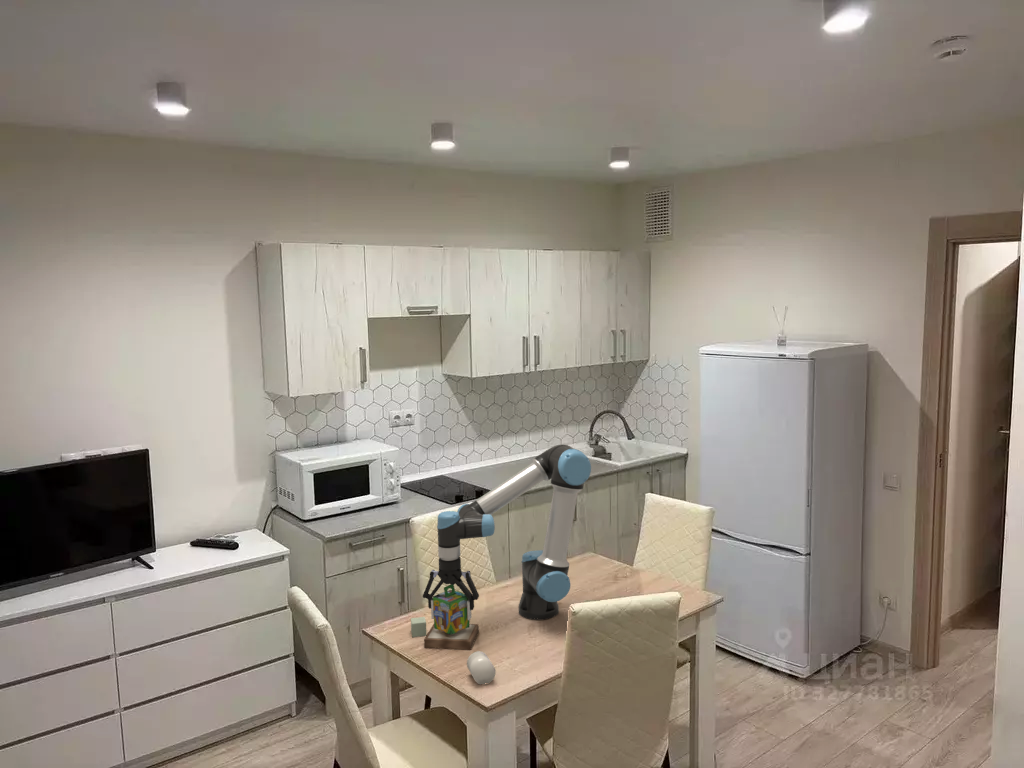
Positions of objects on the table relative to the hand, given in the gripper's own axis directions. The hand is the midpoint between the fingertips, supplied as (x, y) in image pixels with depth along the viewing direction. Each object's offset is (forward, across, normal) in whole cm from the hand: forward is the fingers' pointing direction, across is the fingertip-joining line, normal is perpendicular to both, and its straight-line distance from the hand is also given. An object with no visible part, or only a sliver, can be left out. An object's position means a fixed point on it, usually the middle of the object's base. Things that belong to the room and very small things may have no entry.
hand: (451, 618), depth 259 cm
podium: (+8, 0, 0) cm, 8 cm away
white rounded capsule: (+4, -13, +22) cm, 26 cm away
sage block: (+8, +13, -4) cm, 16 cm away
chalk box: (+4, 0, 0) cm, 4 cm away
